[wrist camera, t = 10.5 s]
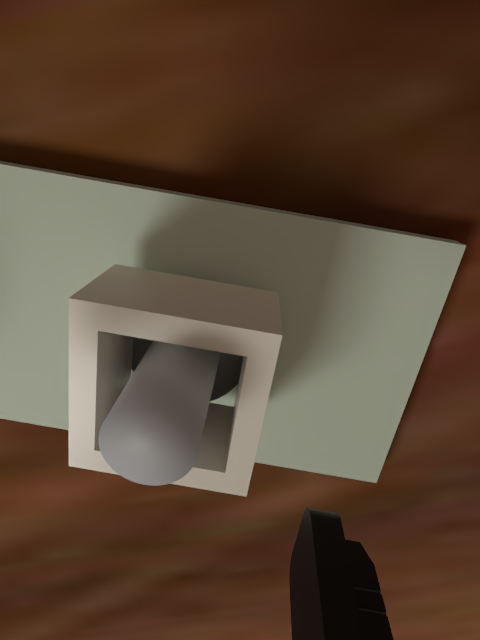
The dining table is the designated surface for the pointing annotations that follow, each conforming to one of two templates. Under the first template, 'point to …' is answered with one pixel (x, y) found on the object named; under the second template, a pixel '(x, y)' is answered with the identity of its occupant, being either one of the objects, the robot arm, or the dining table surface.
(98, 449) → the white hollow square block
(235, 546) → the dining table surface
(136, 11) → the dining table surface
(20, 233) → the stand
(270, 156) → the dining table surface
